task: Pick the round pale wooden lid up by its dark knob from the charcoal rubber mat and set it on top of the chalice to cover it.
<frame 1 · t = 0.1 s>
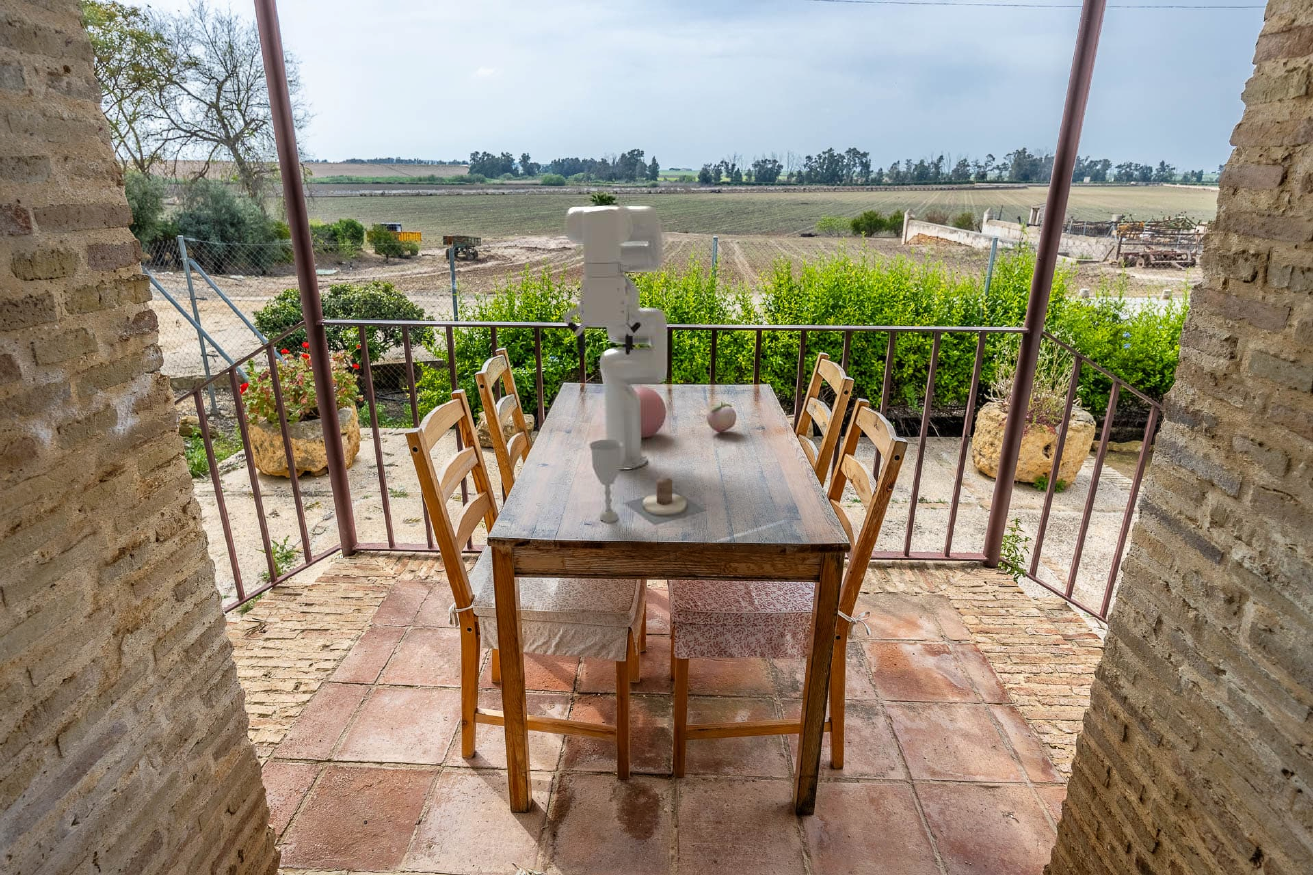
hand: (605, 353, 149), 37 cm above the table, tool pointing down, fingers open, 9 cm apart
mat: (664, 508, 163), on the table
chalice: (608, 520, 157), on the table
balloon: (641, 434, 214), on the table
decorative fruit: (722, 434, 214), on the table
lid: (664, 506, 162), point 1 cm above the table, touching mat
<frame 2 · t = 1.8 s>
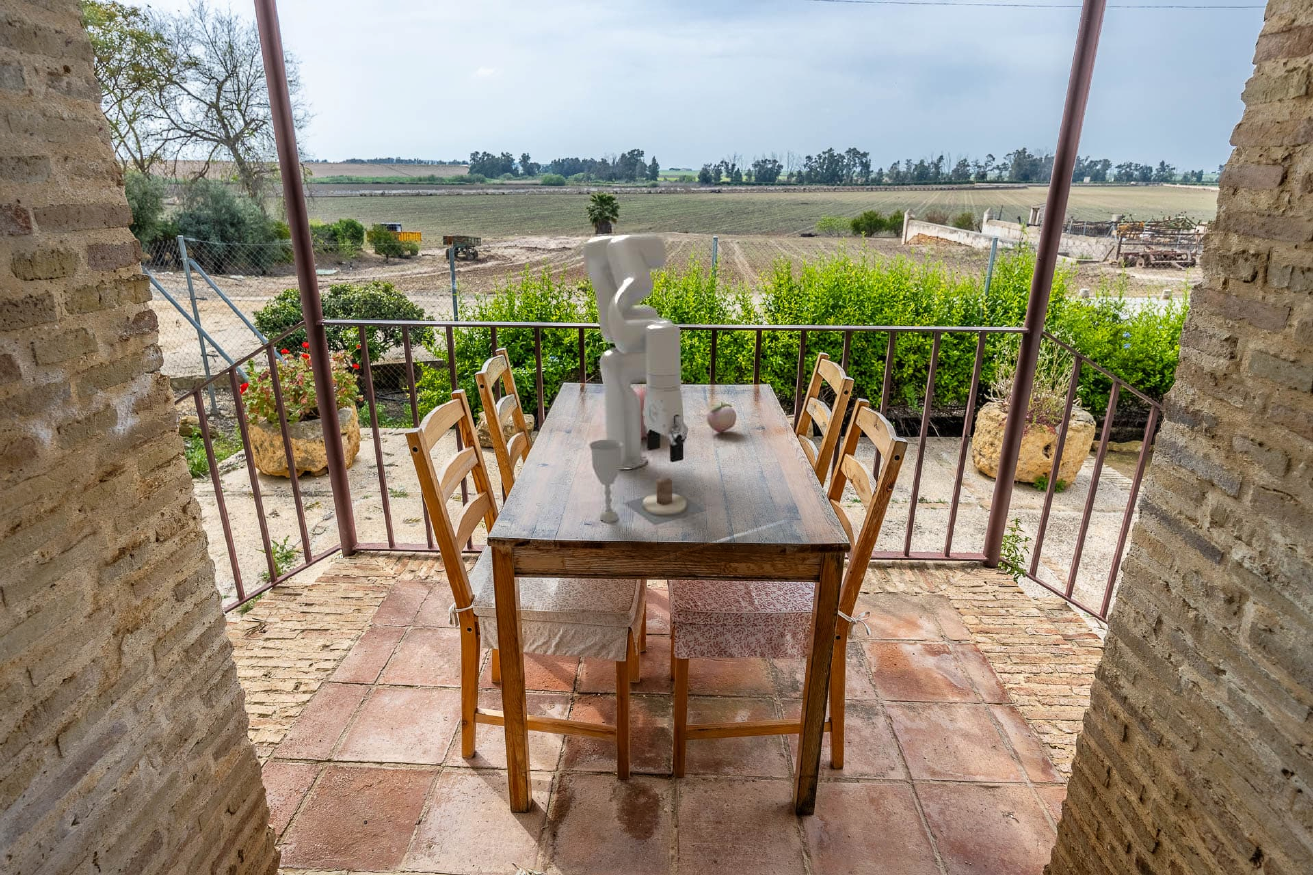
hand: (665, 454, 158), 14 cm above the table, tool pointing down, fingers open, 9 cm apart
nothing on the table moved.
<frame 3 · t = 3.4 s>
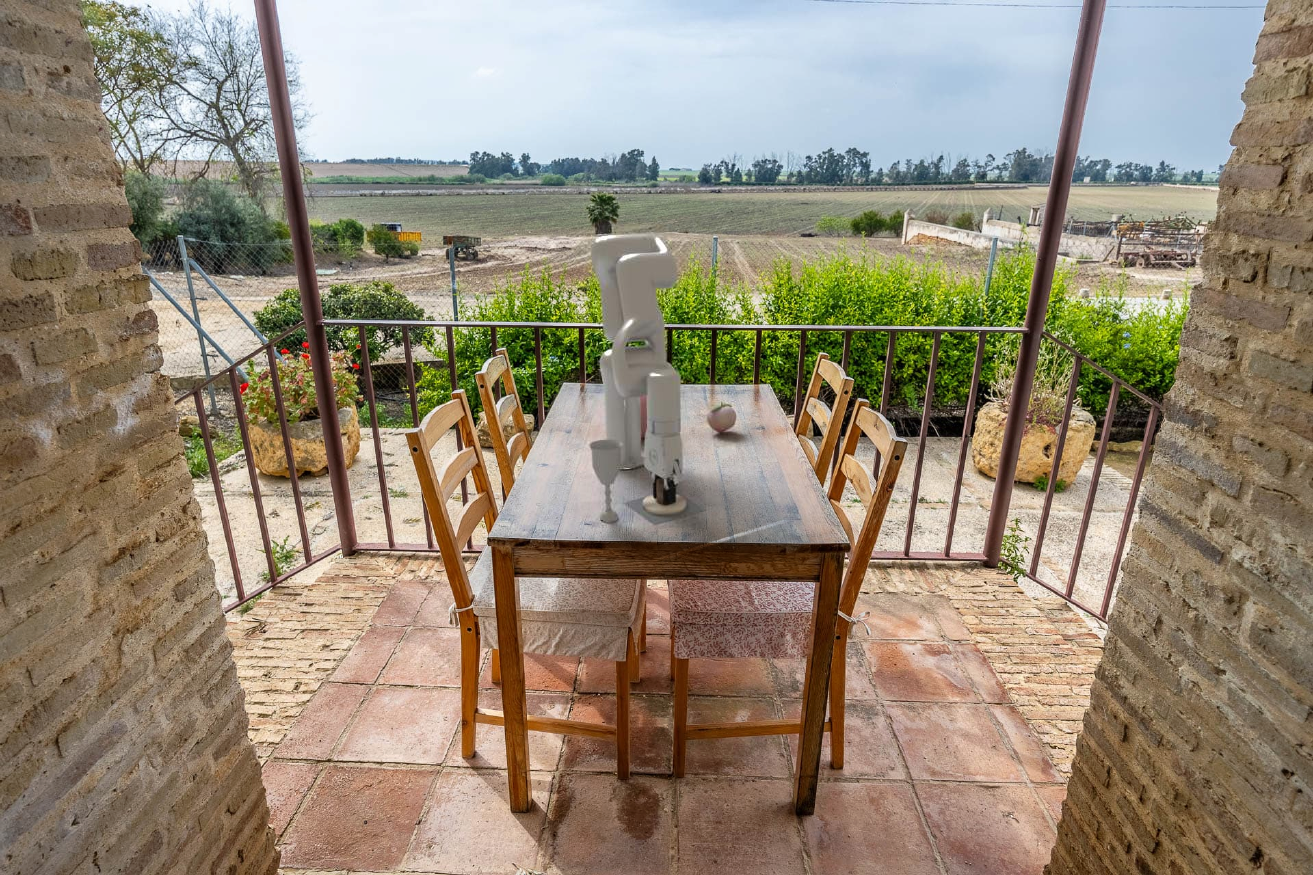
hand: (664, 499, 162), 2 cm above the table, tool pointing down, fingers closed on lid, 3 cm apart
lid: (664, 506, 162), point 1 cm above the table, touching gripper, mat
everything else where it was.
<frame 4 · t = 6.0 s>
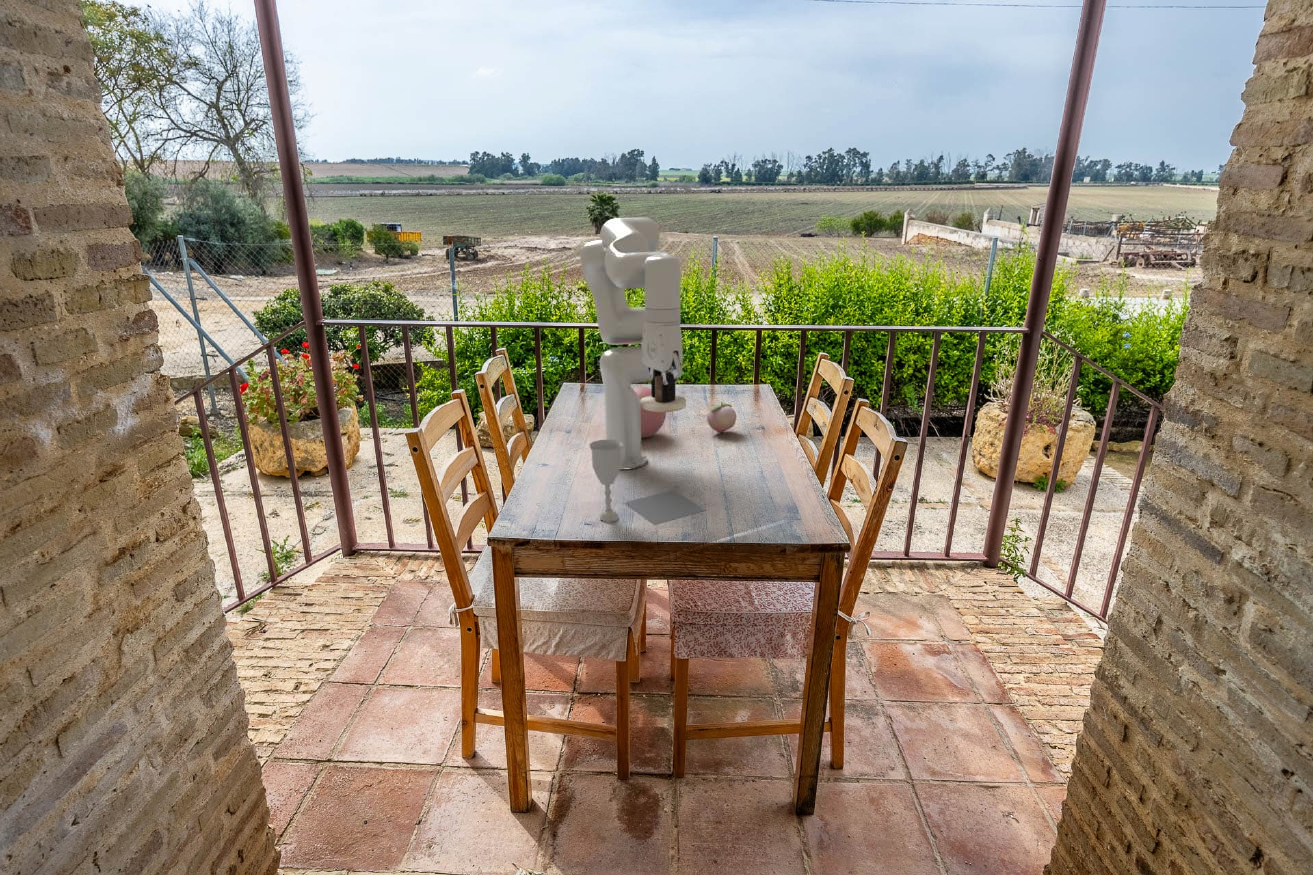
hand: (663, 398, 154), 27 cm above the table, tool pointing down, fingers closed on lid, 3 cm apart
lid: (663, 405, 155), point 25 cm above the table, touching gripper
everything else where it was.
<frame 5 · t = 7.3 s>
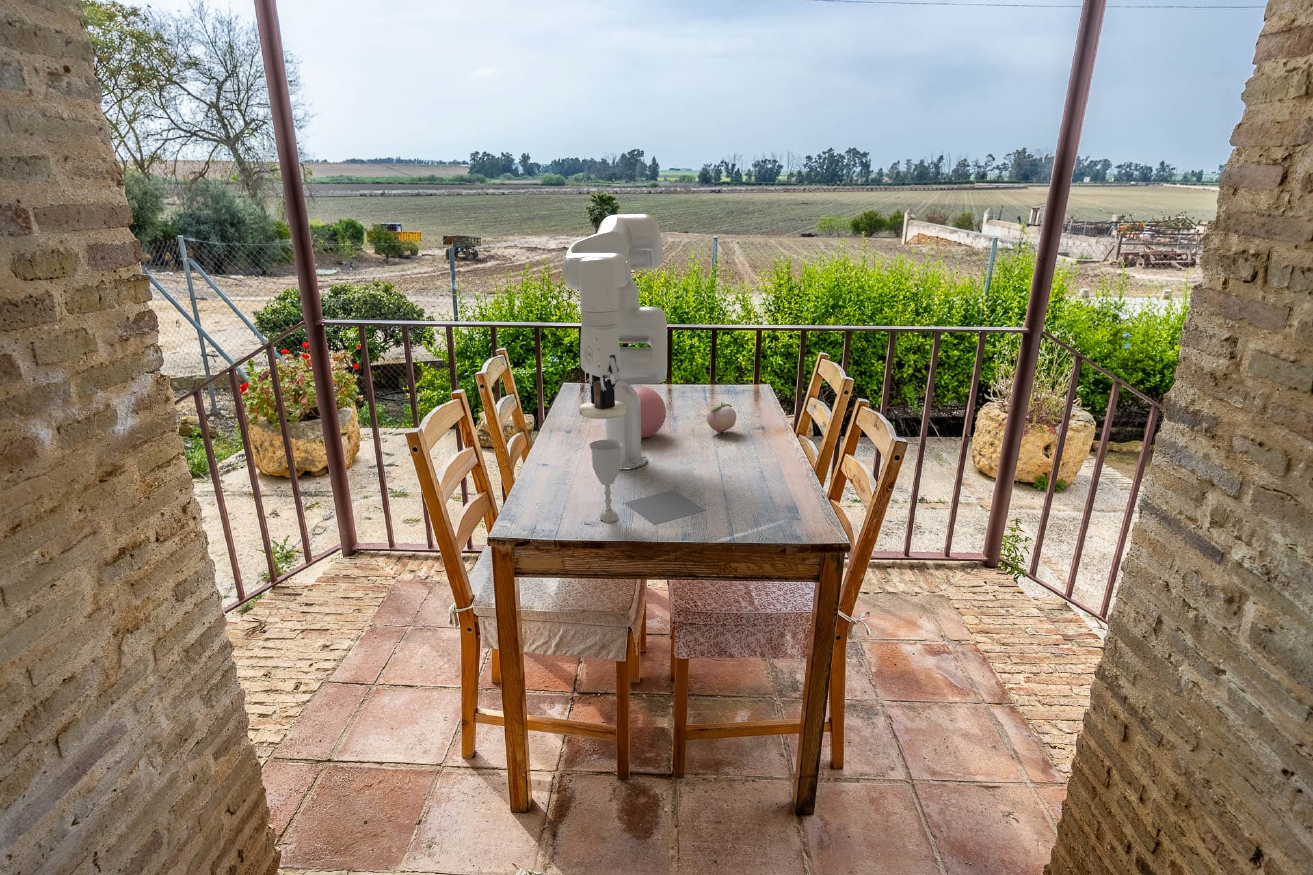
hand: (602, 404, 149), 27 cm above the table, tool pointing down, fingers closed on lid, 3 cm apart
lid: (603, 412, 149), point 25 cm above the table, touching gripper
everything else where it was.
when the fingers open (21 cm above the table, at t = 8.5 s): lid drops 1 cm, resting on chalice.
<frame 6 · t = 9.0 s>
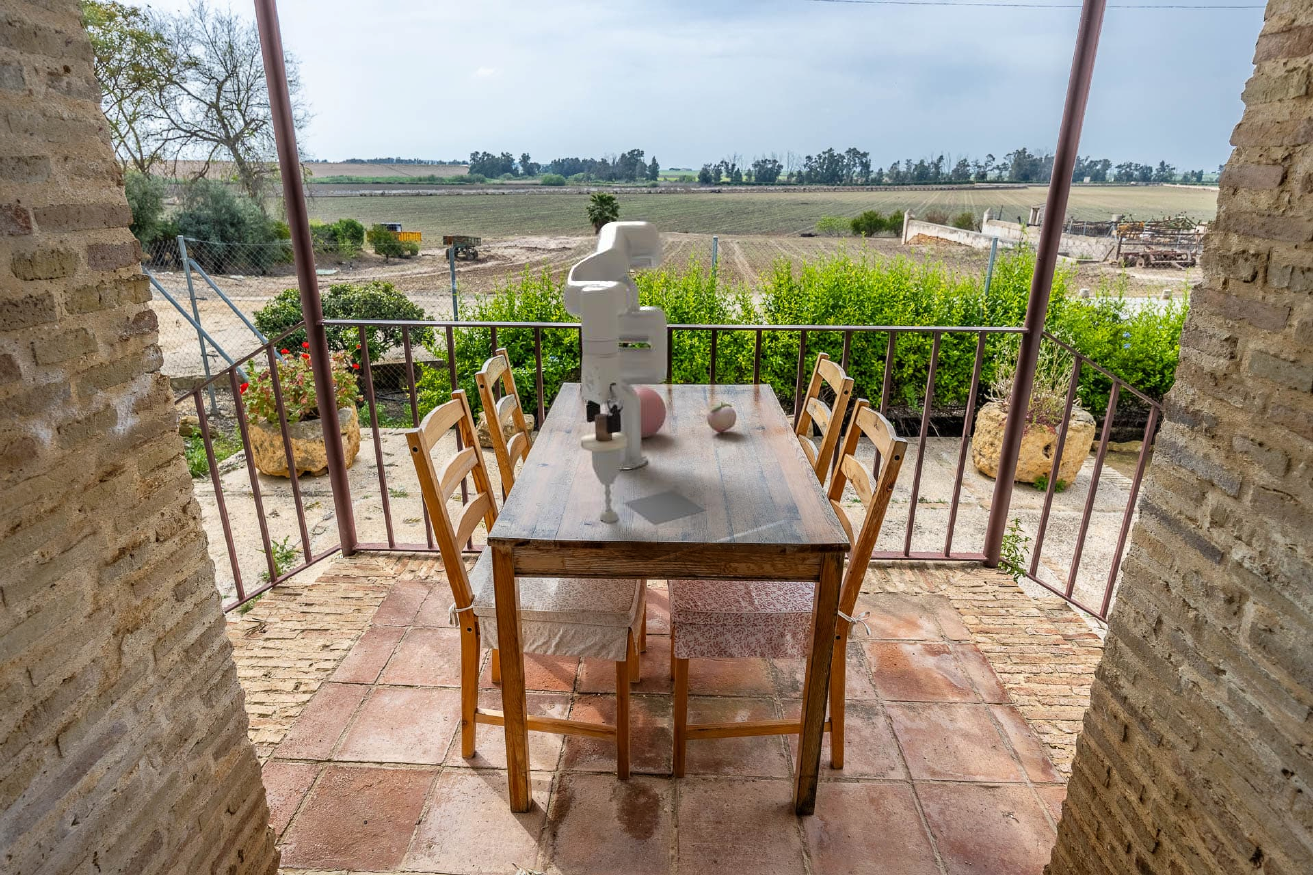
hand: (603, 426, 150), 22 cm above the table, tool pointing down, fingers open, 8 cm apart
chalice: (608, 520, 157), on the table, touching lid
lid: (604, 444, 152), point 18 cm above the table, touching chalice
everything else where it was.
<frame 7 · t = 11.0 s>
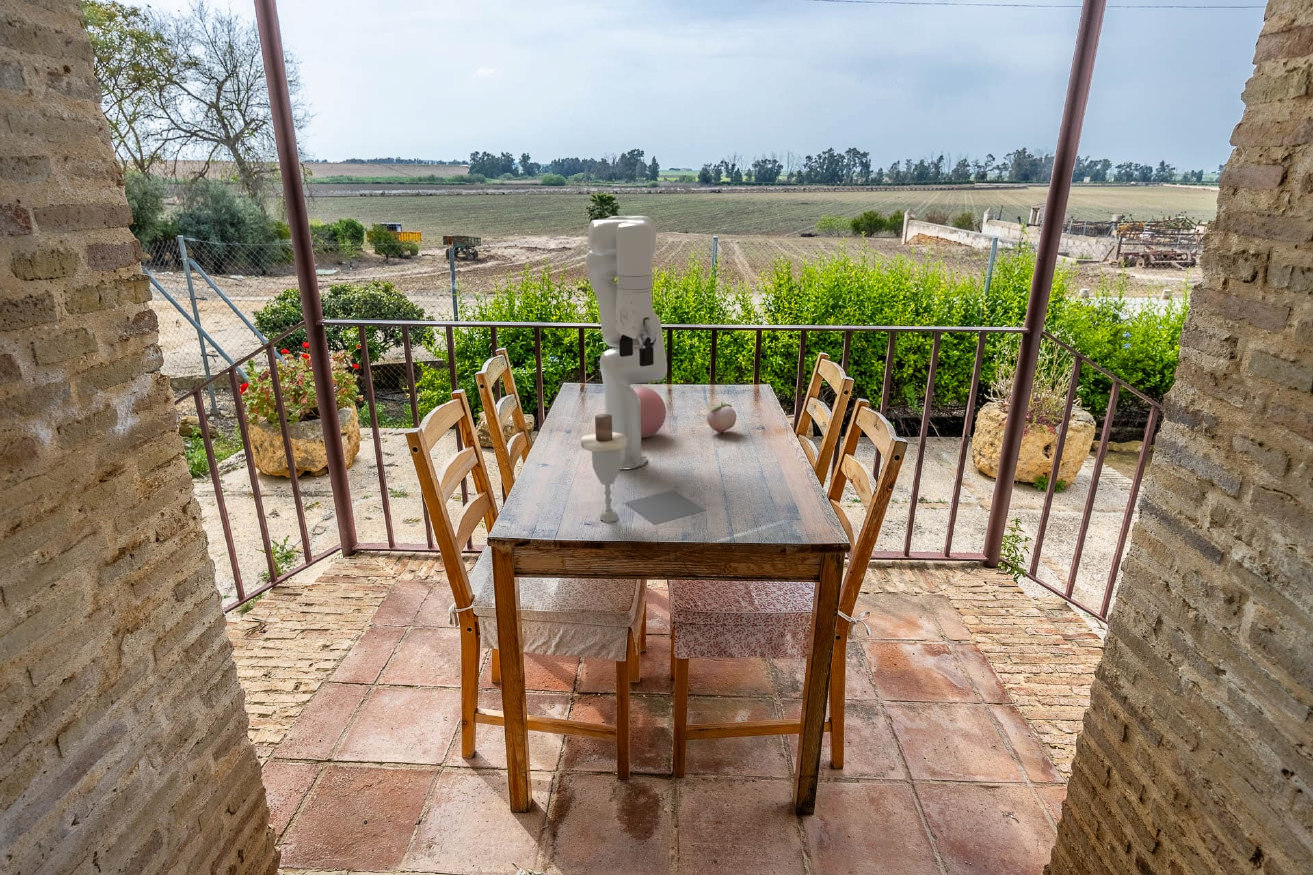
hand: (636, 360, 156), 34 cm above the table, tool pointing down, fingers open, 9 cm apart
nothing on the table moved.
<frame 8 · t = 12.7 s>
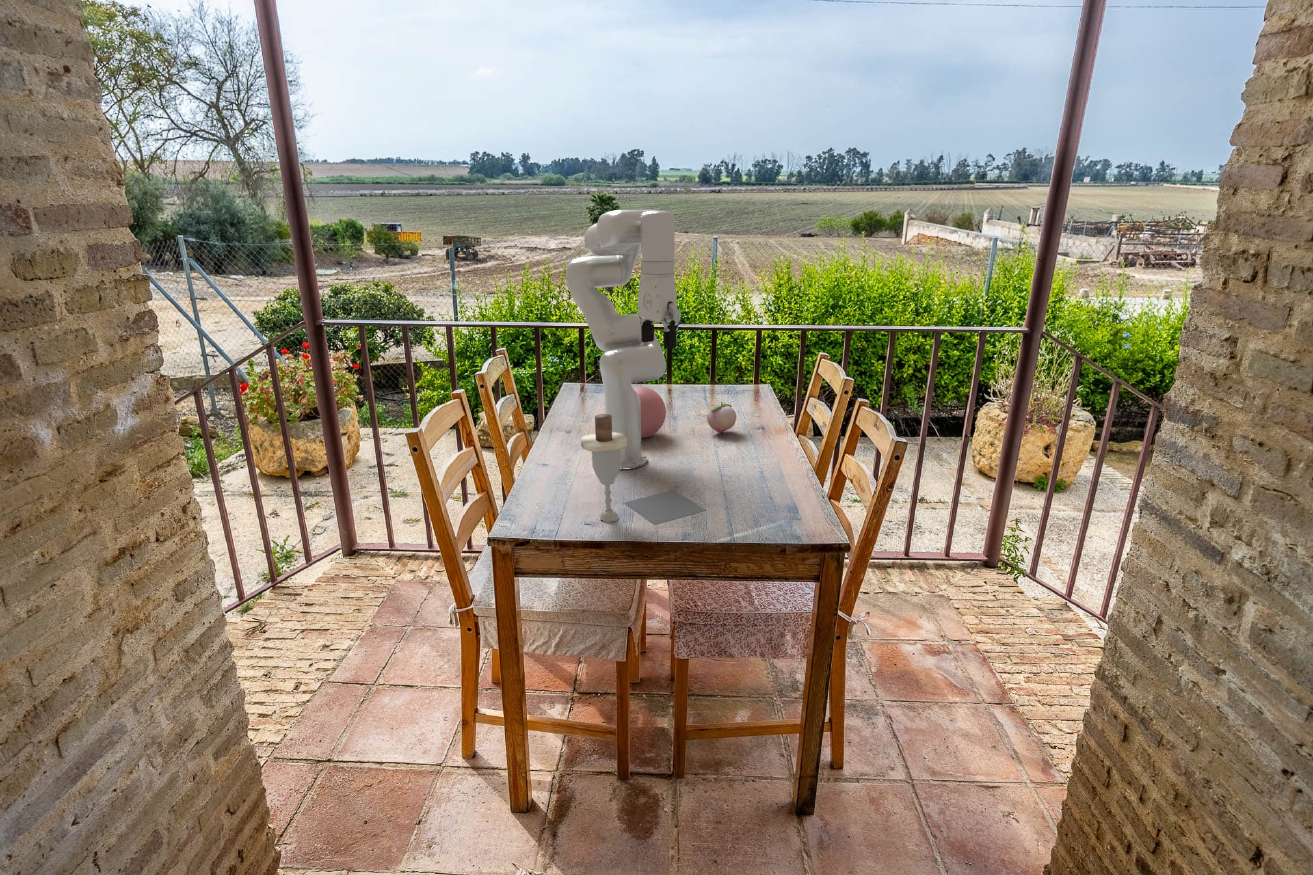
hand: (658, 344, 161), 36 cm above the table, tool pointing down, fingers open, 9 cm apart
nothing on the table moved.
at the end: lid 0.4 cm from the chalice (horizontally); lid point 18.0 cm above the table; chalice tilted 0° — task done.
